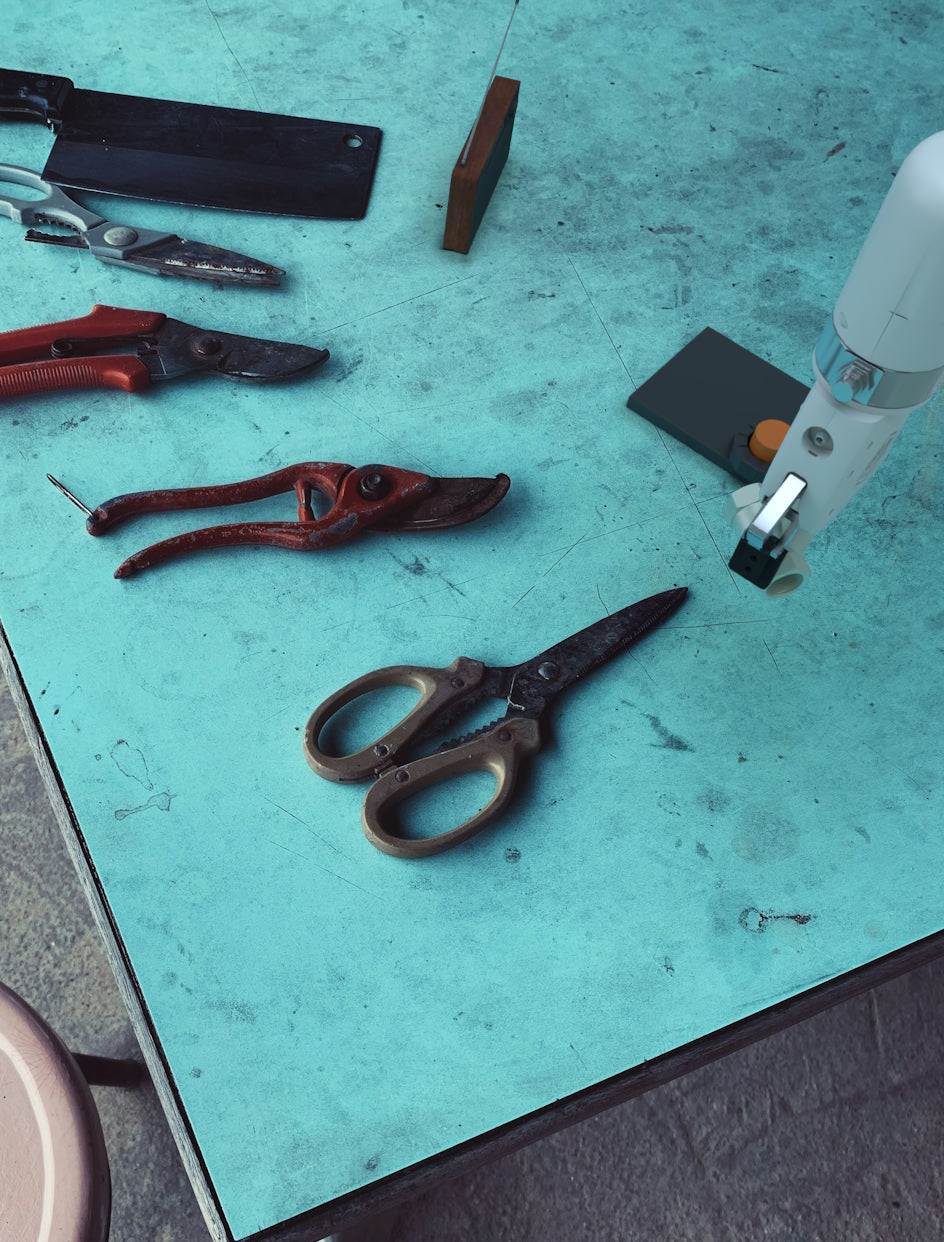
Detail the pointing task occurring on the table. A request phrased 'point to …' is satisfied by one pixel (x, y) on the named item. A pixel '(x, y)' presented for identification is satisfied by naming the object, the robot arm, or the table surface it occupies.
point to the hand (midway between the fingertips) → (784, 536)
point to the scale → (719, 401)
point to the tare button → (768, 439)
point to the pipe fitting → (794, 566)
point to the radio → (481, 160)
